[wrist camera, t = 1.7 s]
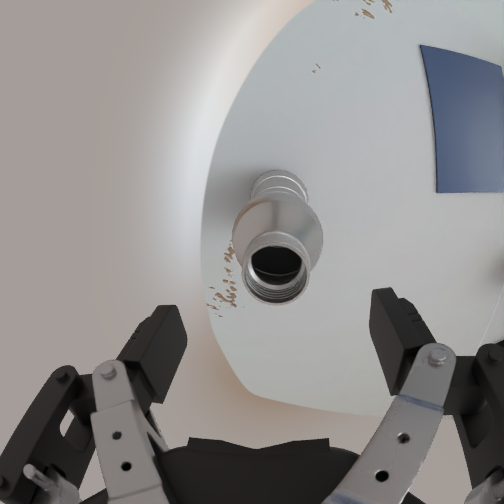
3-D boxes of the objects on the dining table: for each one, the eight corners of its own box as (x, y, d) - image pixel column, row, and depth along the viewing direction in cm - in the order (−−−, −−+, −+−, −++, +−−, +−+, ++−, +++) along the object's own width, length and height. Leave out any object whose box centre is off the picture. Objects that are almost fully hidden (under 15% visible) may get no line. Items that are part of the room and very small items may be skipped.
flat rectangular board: (419, 45, 22) (420, 44, 22) (500, 66, 20) (501, 66, 20) (436, 192, 30) (437, 193, 30) (510, 191, 28) (511, 192, 27)
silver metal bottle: (300, 163, 31) (329, 200, 13) (310, 218, 33) (341, 318, 15) (246, 173, 32) (198, 224, 14) (258, 227, 35) (231, 332, 16)
